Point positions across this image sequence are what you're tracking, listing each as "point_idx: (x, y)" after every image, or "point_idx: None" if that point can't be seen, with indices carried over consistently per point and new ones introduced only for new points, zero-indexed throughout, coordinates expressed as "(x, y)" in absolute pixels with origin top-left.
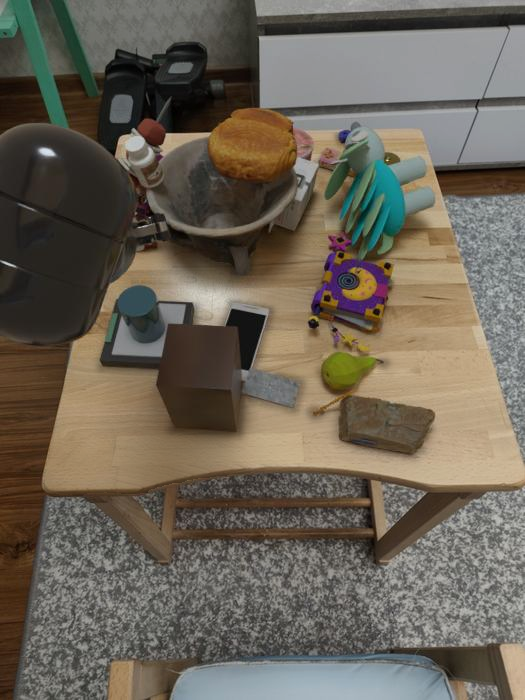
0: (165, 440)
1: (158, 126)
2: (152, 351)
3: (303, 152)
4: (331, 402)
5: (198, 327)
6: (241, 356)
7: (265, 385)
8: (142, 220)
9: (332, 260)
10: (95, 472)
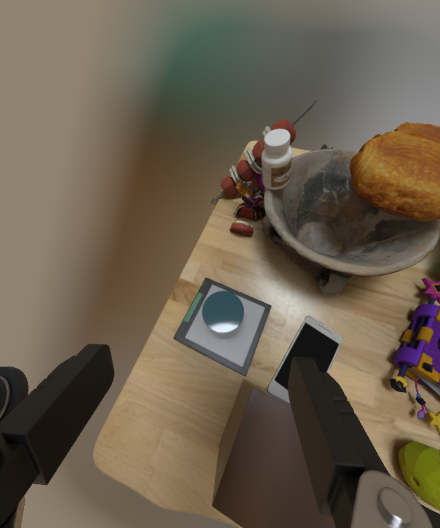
0: (206, 457)
1: (292, 128)
2: (221, 350)
3: None
4: None
5: (292, 414)
6: None
7: None
8: (401, 523)
9: (435, 315)
10: (132, 464)
